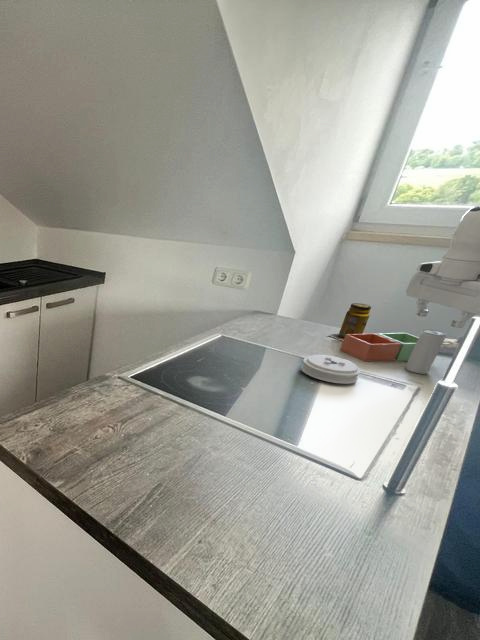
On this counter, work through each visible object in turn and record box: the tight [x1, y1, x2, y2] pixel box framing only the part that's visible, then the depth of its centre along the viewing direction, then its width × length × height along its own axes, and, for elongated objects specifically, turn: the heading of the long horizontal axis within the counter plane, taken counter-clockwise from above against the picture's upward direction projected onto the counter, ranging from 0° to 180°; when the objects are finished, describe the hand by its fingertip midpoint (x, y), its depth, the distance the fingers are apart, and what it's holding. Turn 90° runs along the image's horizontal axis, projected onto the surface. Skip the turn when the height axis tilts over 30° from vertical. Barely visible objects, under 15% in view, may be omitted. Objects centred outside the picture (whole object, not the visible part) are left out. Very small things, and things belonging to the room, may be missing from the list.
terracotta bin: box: [339, 332, 401, 362], centre depth 122 cm, size 9×9×6 cm
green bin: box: [376, 332, 419, 362], centre depth 122 cm, size 9×9×6 cm
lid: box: [300, 354, 362, 384], centre depth 109 cm, size 13×13×5 cm
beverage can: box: [405, 328, 447, 375], centre depth 110 cm, size 5×5×12 cm
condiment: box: [328, 302, 372, 342], centre depth 134 cm, size 7×8×12 cm
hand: (437, 321), depth 106 cm, fingers open, 8 cm apart
